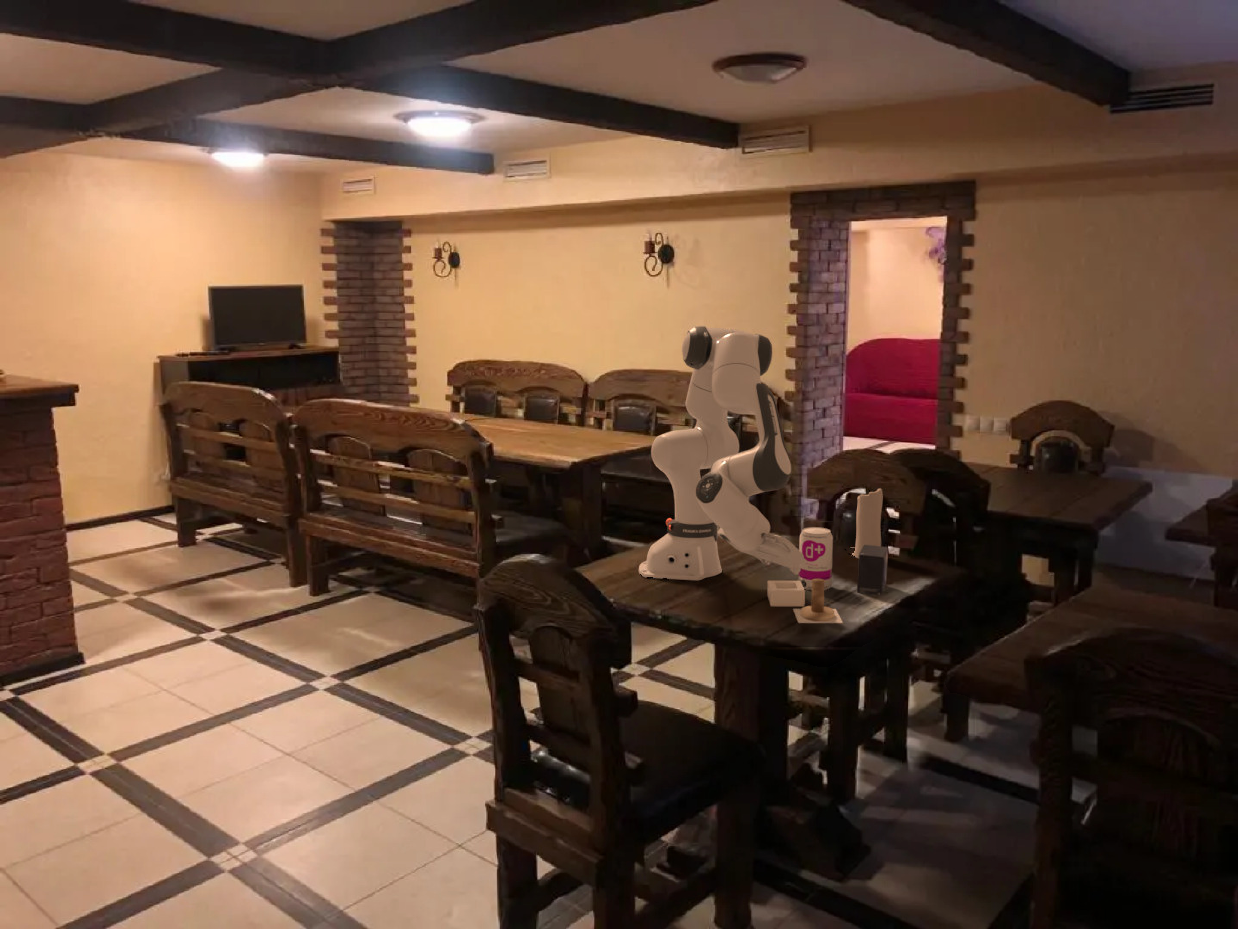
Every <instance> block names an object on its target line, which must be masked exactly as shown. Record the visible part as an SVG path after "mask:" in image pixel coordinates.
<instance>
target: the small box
mask: <svg viewBox="0 0 1238 929" xmlns="http://www.w3.org/2000/svg"><path fill="white" fill-rule="evenodd" d="M888 550H889V549H888V546H882V545H881V546H872V545H864V546H863V547H862V549H861V551H860V553H859V558H858V566H857V570H858V571H857V585H856V586H857V587H856V593H857V594H869V595H883V593H884V590H885V588H886V586H887V577H888V576H887V575H888V557H889V556H888Z"/></svg>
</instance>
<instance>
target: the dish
mask: <svg viewBox="0 0 1238 929" xmlns="http://www.w3.org/2000/svg"><path fill="white" fill-rule="evenodd" d="M805 595H806V590H804V587H803V585H802V583H801V581H799V580H767V598H768V602H769V605H770V607H806V606H805V604H806V600H805V599H806V596H805Z"/></svg>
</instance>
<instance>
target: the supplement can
mask: <svg viewBox="0 0 1238 929" xmlns="http://www.w3.org/2000/svg"><path fill="white" fill-rule="evenodd" d="M833 536H834V535H832V533H831V529H828V528H826V527H825V528H824V527H817V526H814V527H812V526H811V527H805V528H803V529H802V530H801V533H800V535H799V545H798V546H799V547H798V550H799V551H800V552H801V553H802V554H803V555H804V559H803V561H802V563H801V564H800V566H799V567H800V569H801V570H800V572H799V573H798V581H801V583H802V585H803V587H804V589H806V590H805V591H812V579H823V580H824V591H828V590H829V589H830V588H832V583H833V582H832V581H833V551H834V550H833V548H834V546H833V545H834V544H833V543H834V541H833V540H834V537H833ZM827 589H828V590H827Z"/></svg>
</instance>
